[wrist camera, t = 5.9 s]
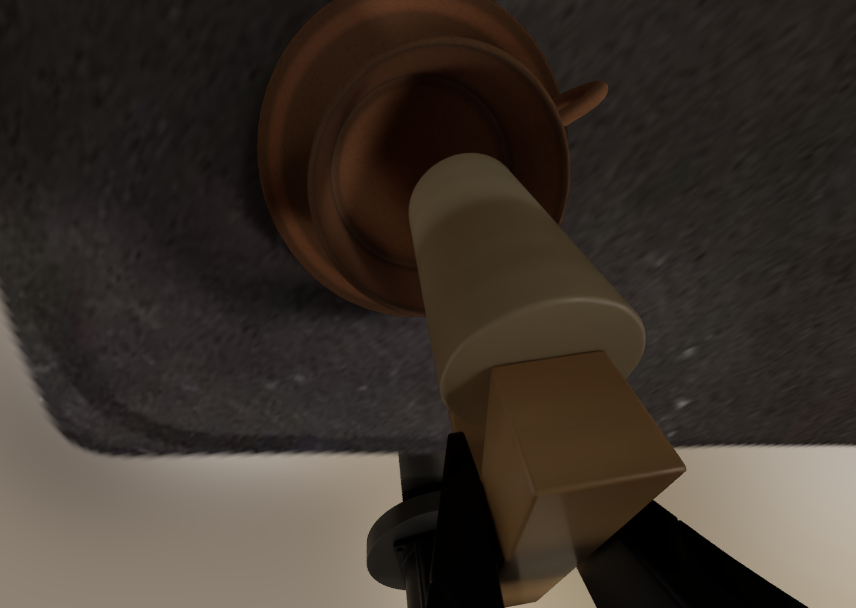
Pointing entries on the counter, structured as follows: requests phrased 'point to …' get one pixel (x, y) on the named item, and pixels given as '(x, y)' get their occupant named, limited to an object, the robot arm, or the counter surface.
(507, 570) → the brown bracket-shaped piece
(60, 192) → the counter surface
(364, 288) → the cup and saucer
